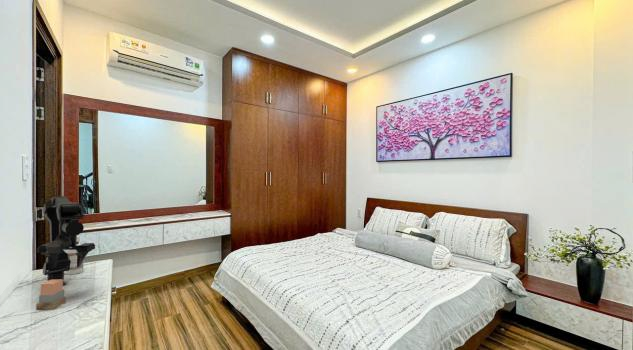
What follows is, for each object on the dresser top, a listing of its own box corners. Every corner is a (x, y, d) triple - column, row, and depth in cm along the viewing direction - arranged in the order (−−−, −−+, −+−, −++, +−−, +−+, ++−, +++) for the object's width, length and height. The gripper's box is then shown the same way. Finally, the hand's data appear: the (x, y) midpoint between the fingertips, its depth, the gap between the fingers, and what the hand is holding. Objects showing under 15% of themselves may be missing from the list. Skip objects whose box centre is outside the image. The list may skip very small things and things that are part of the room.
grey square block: (38, 303, 103) (39, 295, 103) (50, 297, 108) (50, 290, 108) (52, 302, 103) (53, 295, 103) (63, 297, 108) (64, 289, 108)
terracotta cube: (40, 295, 103) (40, 283, 103) (50, 290, 107) (51, 279, 107) (52, 295, 103) (53, 283, 103) (62, 290, 108) (63, 279, 108)
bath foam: (64, 276, 137) (65, 237, 137) (67, 271, 142) (69, 235, 143) (81, 273, 140) (83, 236, 141) (84, 269, 146) (85, 234, 147)
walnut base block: (36, 311, 102) (36, 304, 102) (49, 304, 108) (49, 297, 108) (53, 310, 103) (54, 303, 103) (65, 303, 109) (66, 296, 109)
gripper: (26, 235, 105) (24, 274, 105) (78, 236, 108) (76, 273, 108) (49, 230, 116) (48, 265, 116) (96, 230, 119) (95, 264, 119)
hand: (66, 267), depth 115 cm, fingers open, 9 cm apart
